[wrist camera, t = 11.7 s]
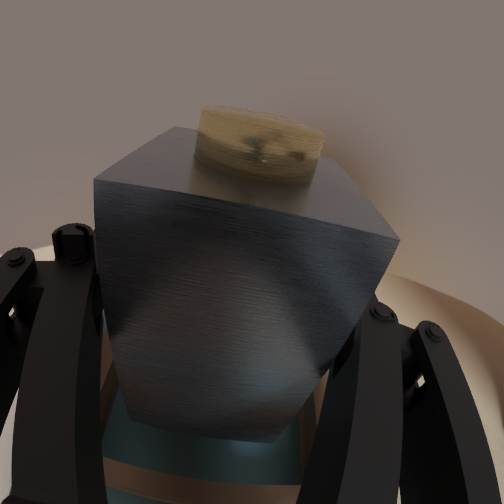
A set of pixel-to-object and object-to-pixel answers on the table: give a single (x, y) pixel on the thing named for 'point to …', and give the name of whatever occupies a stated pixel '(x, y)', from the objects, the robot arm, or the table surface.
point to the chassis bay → (198, 455)
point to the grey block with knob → (232, 271)
